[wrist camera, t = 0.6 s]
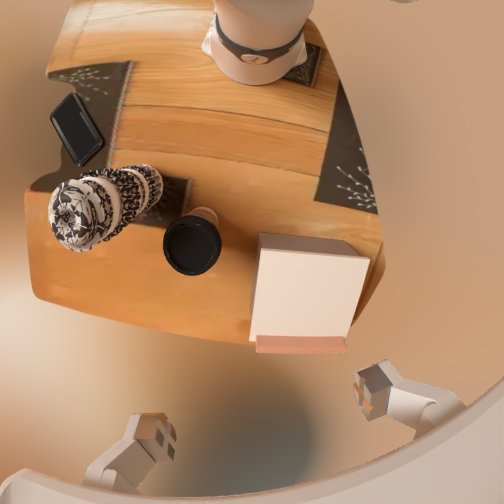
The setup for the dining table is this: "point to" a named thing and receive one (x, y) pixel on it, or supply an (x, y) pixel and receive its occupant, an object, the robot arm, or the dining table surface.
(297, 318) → the lid
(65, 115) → the phone
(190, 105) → the dining table surface
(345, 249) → the storage box
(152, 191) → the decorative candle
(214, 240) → the coffee cup
